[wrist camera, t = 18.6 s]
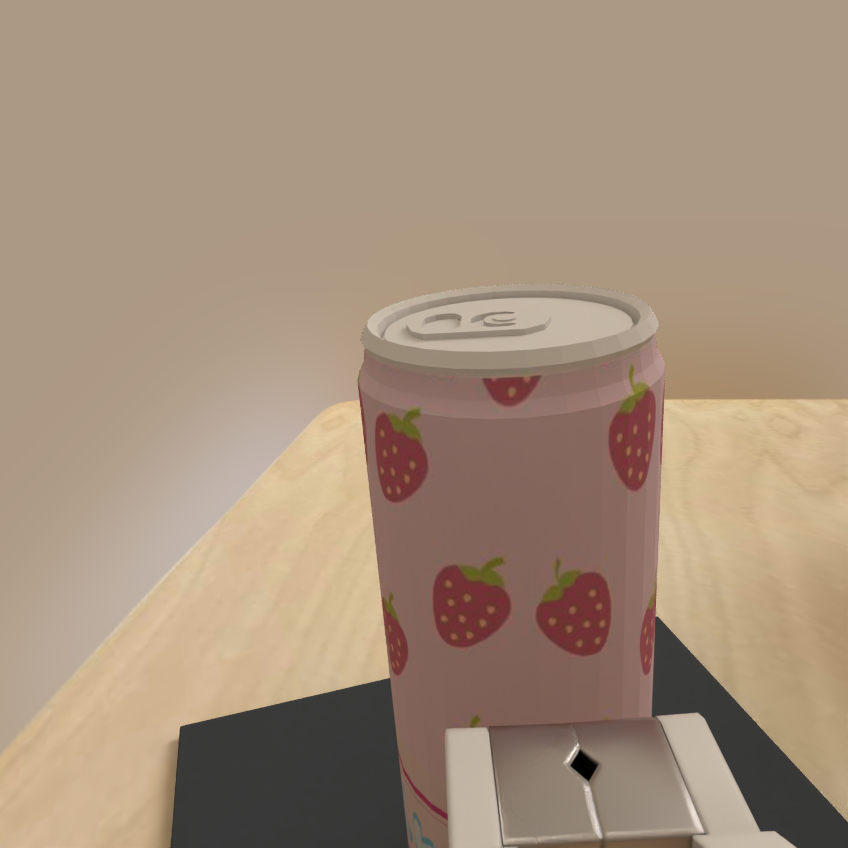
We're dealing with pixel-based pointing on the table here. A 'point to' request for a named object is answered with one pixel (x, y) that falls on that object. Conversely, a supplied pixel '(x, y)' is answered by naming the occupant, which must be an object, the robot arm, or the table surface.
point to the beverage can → (512, 514)
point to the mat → (381, 778)
